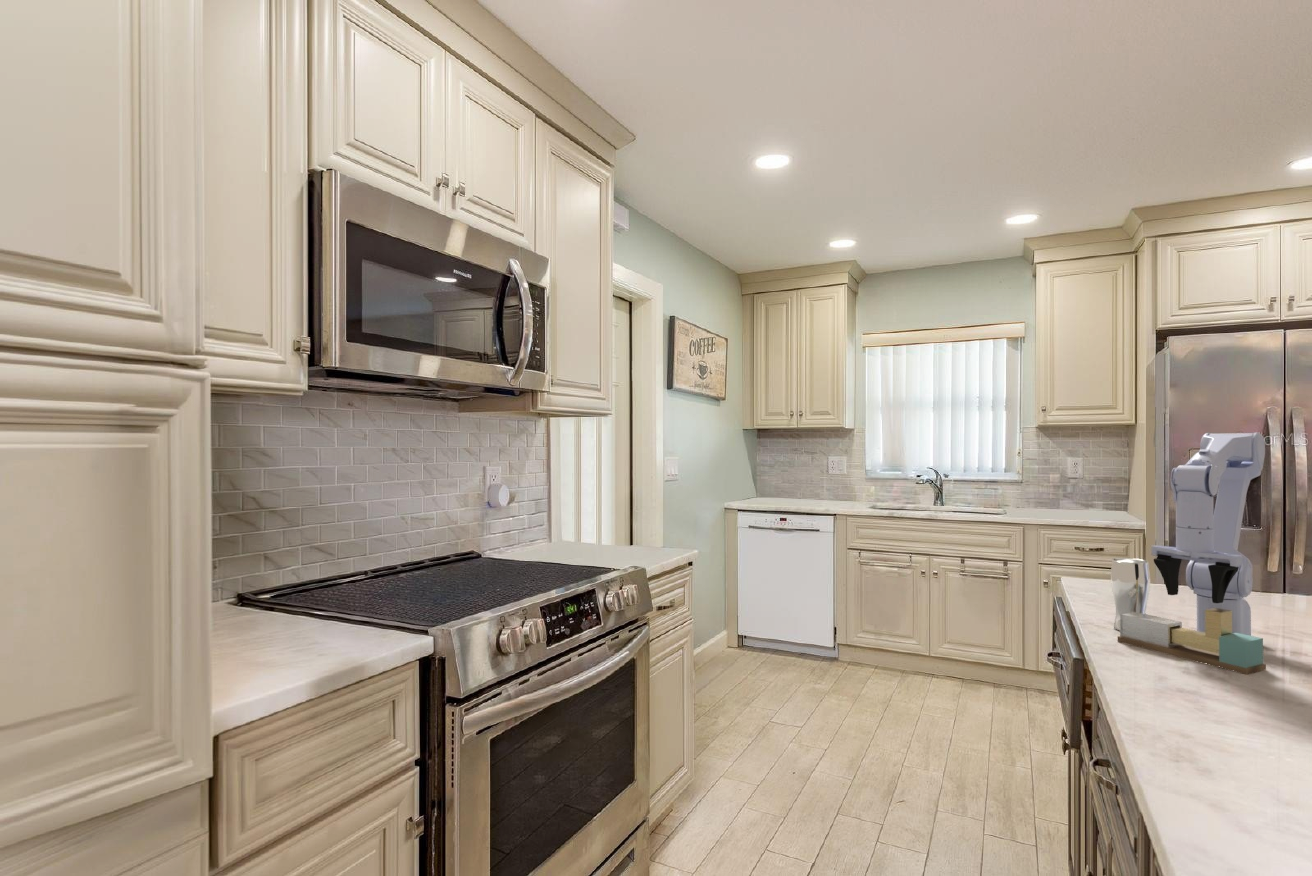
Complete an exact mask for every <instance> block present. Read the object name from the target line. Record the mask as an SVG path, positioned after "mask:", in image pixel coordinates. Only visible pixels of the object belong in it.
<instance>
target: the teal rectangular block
mask: <svg viewBox="0 0 1312 876" xmlns="http://www.w3.org/2000/svg"><path fill="white" fill-rule="evenodd" d="M1219 662H1223V663H1227V664H1231V665H1235V666H1239V667H1243V668H1248V667H1252V666H1256V665H1260V664H1263V663H1264V638H1263V637H1258V636H1253V635H1251V636H1250V635H1245V634H1240V633H1233V634H1228V635H1223V636H1219Z"/></svg>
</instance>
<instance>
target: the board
mask: <svg viewBox="0 0 1312 876" xmlns="http://www.w3.org/2000/svg"><path fill="white" fill-rule="evenodd" d="M1117 642H1119V643H1123V644H1127V645H1131V646H1134V647H1138V648H1140V649H1141V648H1142V649H1146V650H1149V651H1153V652H1157V653H1161V654H1166V655H1170V656H1173V657H1177V658H1180V659H1181V658H1182V659H1185V660H1189V661H1194V662H1196V661H1198V662H1197V663H1200V662H1202V663H1201V664H1204V663H1207V664H1206V665H1208V664H1210V665H1209V666H1212V665H1213V666H1212V667H1216V666H1220V667H1223V668H1222V669H1224V668H1226V669H1225V670H1228V669H1229V670H1228V671H1231V670H1234V671H1233V672H1235V671H1237V672H1236V673H1239V672H1240V673H1239V674H1244V675H1249V674H1250V675H1251V674H1256V673H1259V672H1262V671H1266V670H1267V664H1266V663H1264V662H1263V664H1260V665H1256V666H1252V667H1248V668H1243V667H1239V666H1235V665H1231V664H1227V663H1223V662H1219V654H1218V653H1214V652H1210V651H1206V650H1202V649H1198V648H1193V647H1189V646H1185V645H1180V646H1175V647H1171V648H1166V647H1162V646H1158V645H1154V644H1150V643H1146V642H1142V641H1138V640H1134V639H1130V638H1126V637H1122V636H1120V635H1118V636H1117ZM1220 667H1219V668H1220Z"/></svg>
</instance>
